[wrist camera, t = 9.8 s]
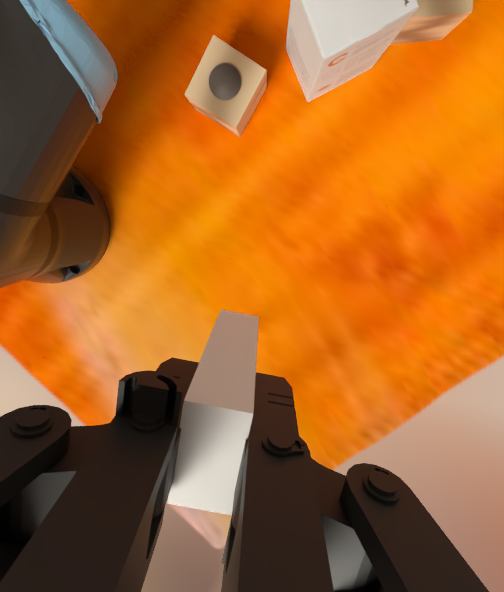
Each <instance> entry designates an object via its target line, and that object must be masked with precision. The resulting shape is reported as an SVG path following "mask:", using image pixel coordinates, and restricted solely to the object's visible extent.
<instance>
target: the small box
mask: <svg viewBox="0 0 504 592" xmlns="http://www.w3.org/2000/svg"><path fill="white" fill-rule="evenodd" d="M418 8H419V4H418V2H417V0H291V3H290V12H289V21H288V29H287V39H286V51H287V53H288V56H289V58H290V61H291V63H292V65H293V68H294V70H295V73H296V75H297V78H298V80H299V83H300V85H301V88H302V90H303V93H304V95H305V98H306V100H307V102H310V101H312V100H313V99H315V98H317V97H319V96H321V95H323V94H325V93H327V92H329V91H331V90H332V89H334V88H336V87H338V86H340V85H342V84H344V83H345V82H347V81H349V80H351V79H353V78H355V77H356V76H358V75H360V74H362V73H364V72H366V71H367V70H369V69H371V68H372V67H373V66H374V64H375V63H376V62H377V61H378V59H379V58H380V57H381V55H382V54H383V53H384V51H385V50H386V49H387V48H388V46H389V45H390V44H391V43H392V41H393V40H394V39H395V38H396V36H397V35H398V34H399V33H400V31H401V30H402V29H403V27H404V26H405V25H406V24H407V22H408V21H409V20H410V18H411V17H412V16H413V15H414V13H415V12H416V11H417V10H418Z"/></svg>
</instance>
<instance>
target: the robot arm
mask: <svg viewBox="0 0 504 592" xmlns="http://www.w3.org/2000/svg"><path fill="white" fill-rule="evenodd" d="M117 79H118V74H117V69H116V65H115V62H114V60H113V58H112V56H111V54H110V53H109V51H108V49H107V48H106V47H105V45H104V44H103V43H102V41H101V40H100V39H99V37H98V36H97V35H96V34H95V33H94V31H93V30H92V29H91V28H90V27H89V25H88V24H87V23H86V22H85V21H84V20H83V19H82V17H81V16H80V15H79V14H78V13H77V12H76V11H75V10H74V8H73V7H72V6H71V5H70V4H69V3H68V2H67V1H66V0H0V288H2V287H5V286H8V285H11V284H14V283H17V282H20V281H23V280H25V281H32V282H39V283H60V282H65V281H68V280H71V279H74V278H76V277H79V276H81V275H83V274H85V273H87V272H88V271H90V270H91V269H92V268H93V267H94V266H95V265H96V264H97V263H98V262H99V261H100V259H101V258H102V256H103V254H104V252H105V250H106V248H107V245H108V241H109V234H110V222H109V215H108V211H107V208H106V205H105V202H104V200H103V198H102V196H101V194H100V193H99V191H98V190H97V188H96V187H95V185H94V184H93V183H92V182H91V181H90V180H89V179H88V178H87V177H86V176H85V175H84V174H83V173H81V172H80V171H79V170H77V169H76V168H74V167H72V165H73V163H74V162H75V160H76V158H77V157H78V155H79V153H80V151H81V150H82V148H83V146H84V145H85V143H86V141H87V139H88V138H89V136H90V134H91V133H92V131H93V129H94V127H95V126H96V124H100V122H101V121H102V113H103V111H104V109H105V107H106V105H107V103H108V101H109V99H110V97H111V95H112V93H113V91H114V89H115V87H116V84H117ZM258 322H259V317H257V316H252V315H247V314H242V313H237V312H231V311H226V310H221V311H220V313H219V315H218V318H217V320H216V323H215V325H214V328H213V330H212V333H211V335H210V338H209V340H208V342H207V345H206V347H205V350H204V352H203V355H202V357H201V360H200V362H199V363H197V362H192V361H187V360H182V359H177V358H171V359H169V360H167V361H165V362H163V363H161V364H160V366H159V367H158V369H157V370H156V371H140V372H135V373H132V374H129V375H126V376H125V377H123V378H122V379H121V380H119V388H118V397H117V407H116V416H115V417H114V418H113V420H112V421H111V423H108V424H104V425H96V426H74V427H71V418H70V416H69V414H68V413H67V412H66V411H64V410H62V409H60V408H58V407H54V406H49V405H33V406H28V407H23V408H19V409H16V410H14V411H12V412H9V413H7V414H5V415H3V416H1V417H0V592H141V589H142V586H143V583H144V580H145V577H146V574H147V570H148V567H149V564H150V561H151V558H152V555H153V551H154V548H155V545H156V542H157V538H158V536H159V532H160V529H161V526H162V521H163V515H164V508H165V504H166V501H167V498H168V504H173V505H178V506H184V507H189V508H195V509H200V510H205V511H211V512H216V513H222V514H227V515H231V514H232V518H231V523H230V527H229V532H228V536H227V541H226V545H225V550H224V555H223V559H222V563H223V564H224V571H223V580H222V588H221V592H489V591H488V590H487V588H486V587H485V586H484V585H483V583H482V582H481V581H480V579H479V578H478V577H477V575H476V574H475V573H474V571H473V570H472V569H471V568H470V566H469V565H468V564H467V562H466V561H465V560H464V558H463V557H462V556H461V555H460V553H459V552H458V551H457V549H456V548H455V547H454V545H453V544H452V543H451V541H450V540H449V539H448V538H447V536H446V535H445V534H444V532H443V531H442V530H441V528H440V527H439V526H438V524H437V523H436V522H435V520H434V519H433V518H432V516H431V515H430V514H429V513H428V511H427V510H426V509H425V507H424V506H423V505H422V503H421V502H420V501H419V499H418V498H417V497H416V496H415V494H414V493H413V492H412V490H411V489H410V488H409V487H408V486H407V485H406V484H405V483H404V482H403V481H402V480H401V479H400V478H399V477H398V476H396V475H395V474H393V473H392V472H390V471H389V470H386V469H384V468H381V467H379V466H377V465H372V464H366V463H362V464H356V465H354V466H352V467H351V468H350V469H349V470H348V472H347V475H346V476H345V475H342V474H340V473H337V472H335V471H333V470H331V469H328V468H326V467H324V466H322V465H321V464H319V463H317V462H316V461H315V460H313V459H312V458H311V456H310V451H309V449H308V446H307V444H306V443H305V442H304V441H303V440H302V439H301V437H300V436H299V433H298V426H297V419H296V412H295V408H294V406H295V405H294V399H293V392H292V387H291V386H290V384H289V383H288V382H287V381H286V379H285V378H282V377H277V376H272V375H267V374H262V373H256V358H257V340H258ZM168 495H169V497H168ZM232 509H233V510H232Z"/></svg>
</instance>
